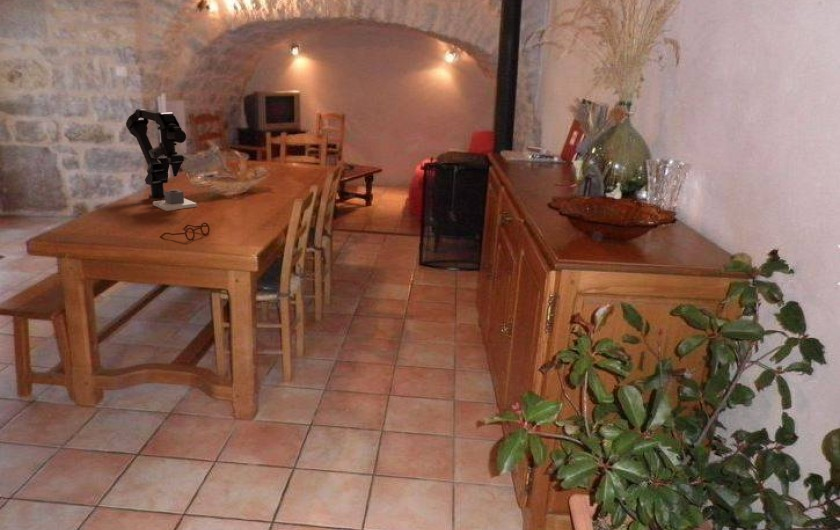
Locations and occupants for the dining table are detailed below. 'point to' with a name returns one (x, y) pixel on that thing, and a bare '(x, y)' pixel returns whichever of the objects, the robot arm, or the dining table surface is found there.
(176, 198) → the grey box housing
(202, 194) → the dining table surface
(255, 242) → the dining table surface
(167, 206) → the base plate
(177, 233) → the glasses
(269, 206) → the dining table surface
